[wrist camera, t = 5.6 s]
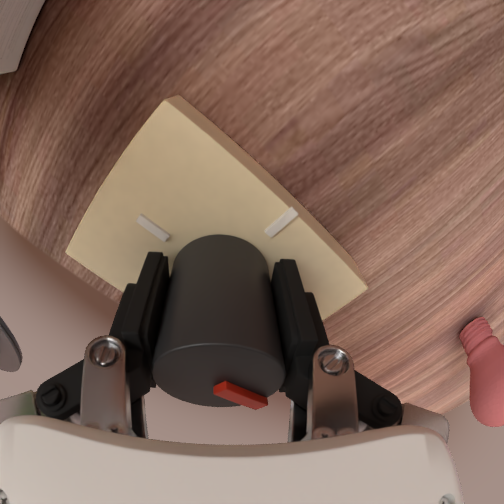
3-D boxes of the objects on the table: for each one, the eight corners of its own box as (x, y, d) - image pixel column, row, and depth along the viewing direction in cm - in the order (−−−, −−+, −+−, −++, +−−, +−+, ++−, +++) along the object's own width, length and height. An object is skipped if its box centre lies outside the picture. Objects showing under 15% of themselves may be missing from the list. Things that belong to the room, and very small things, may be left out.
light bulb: (447, 354, 24) (484, 440, 14) (434, 335, 21) (482, 443, 11) (493, 316, 22) (538, 398, 12) (489, 289, 18) (550, 388, 9)
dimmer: (84, 226, 13) (62, 256, 10) (180, 92, 10) (164, 96, 7) (250, 332, 18) (252, 366, 16) (354, 257, 15) (371, 289, 13)
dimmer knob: (153, 273, 11) (125, 384, 7) (219, 213, 10) (213, 333, 6) (221, 319, 13) (221, 422, 9) (287, 274, 12) (313, 386, 8)
